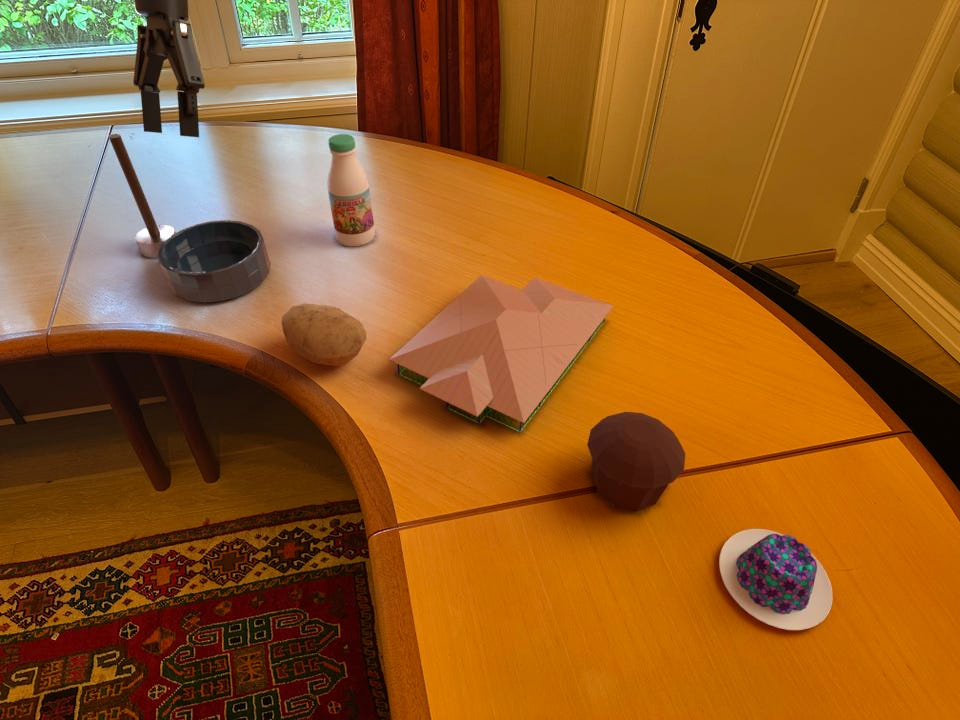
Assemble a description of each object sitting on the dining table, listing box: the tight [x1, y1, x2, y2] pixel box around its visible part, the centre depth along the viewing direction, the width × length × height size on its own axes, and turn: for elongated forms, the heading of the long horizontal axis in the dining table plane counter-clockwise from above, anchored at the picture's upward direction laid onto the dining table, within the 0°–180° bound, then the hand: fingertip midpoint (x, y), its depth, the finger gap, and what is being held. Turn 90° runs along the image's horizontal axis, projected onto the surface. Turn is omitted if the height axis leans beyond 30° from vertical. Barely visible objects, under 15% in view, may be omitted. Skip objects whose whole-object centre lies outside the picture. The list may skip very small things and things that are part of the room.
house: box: [388, 274, 615, 433], centre depth 93 cm, size 23×33×8 cm
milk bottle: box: [326, 133, 376, 247], centre depth 113 cm, size 8×8×20 cm
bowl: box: [157, 219, 272, 303], centre depth 108 cm, size 17×17×6 cm
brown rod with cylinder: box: [108, 133, 177, 259], centre depth 109 cm, size 7×7×22 cm
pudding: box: [718, 528, 833, 631], centre depth 66 cm, size 12×12×5 cm
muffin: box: [586, 411, 686, 512], centre depth 75 cm, size 12×11×10 cm
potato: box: [281, 303, 367, 367], centre depth 92 cm, size 10×14×8 cm
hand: (170, 134), depth 101 cm, fingers open, 13 cm apart
